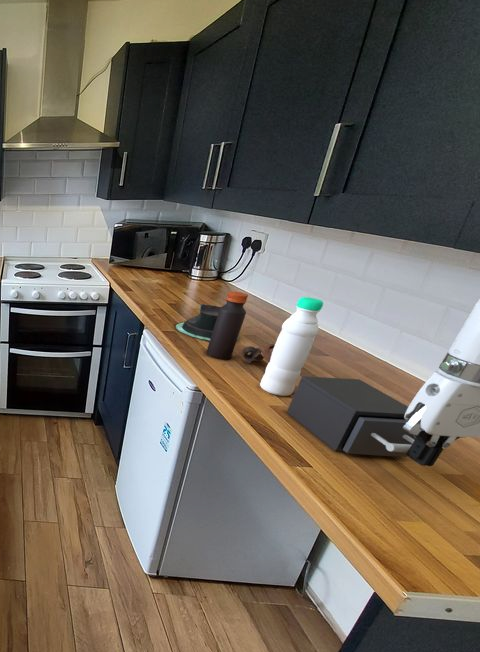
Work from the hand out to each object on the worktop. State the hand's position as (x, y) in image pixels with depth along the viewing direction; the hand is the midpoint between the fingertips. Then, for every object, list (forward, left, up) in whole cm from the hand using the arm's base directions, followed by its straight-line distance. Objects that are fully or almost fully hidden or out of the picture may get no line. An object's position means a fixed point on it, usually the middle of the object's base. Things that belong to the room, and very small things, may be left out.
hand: (418, 460), depth 72 cm
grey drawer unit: (+8, -14, -5) cm, 16 cm away
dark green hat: (+38, -68, -5) cm, 78 cm away
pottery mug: (+22, -44, -5) cm, 49 cm away
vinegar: (+33, -46, -5) cm, 56 cm away
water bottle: (+19, -29, -5) cm, 35 cm away
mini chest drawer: (+5, -9, -4) cm, 12 cm away
